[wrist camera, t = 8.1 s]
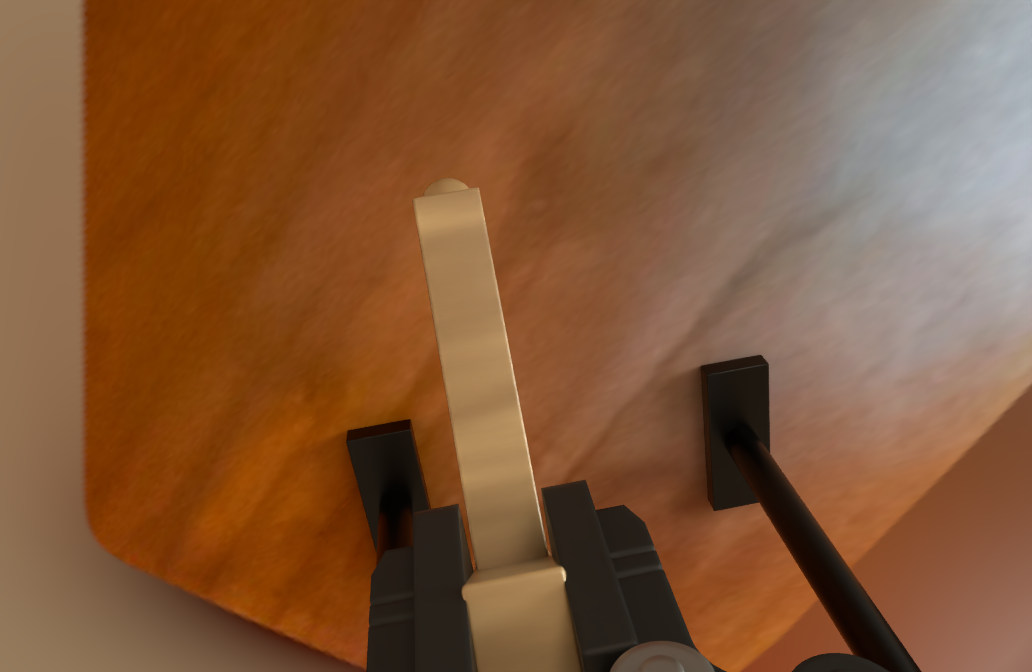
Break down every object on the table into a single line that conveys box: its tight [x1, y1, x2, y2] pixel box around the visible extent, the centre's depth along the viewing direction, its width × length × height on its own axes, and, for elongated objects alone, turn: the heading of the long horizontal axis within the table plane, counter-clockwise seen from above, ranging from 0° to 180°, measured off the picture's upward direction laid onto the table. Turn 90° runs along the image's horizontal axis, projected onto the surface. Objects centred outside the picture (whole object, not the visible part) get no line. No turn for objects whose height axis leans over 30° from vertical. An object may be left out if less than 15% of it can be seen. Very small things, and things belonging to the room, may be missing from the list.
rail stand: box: [346, 355, 921, 672], centre depth 35 cm, size 8×20×18 cm, turn 98°
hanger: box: [413, 178, 582, 672], centre depth 22 cm, size 22×1×15 cm
